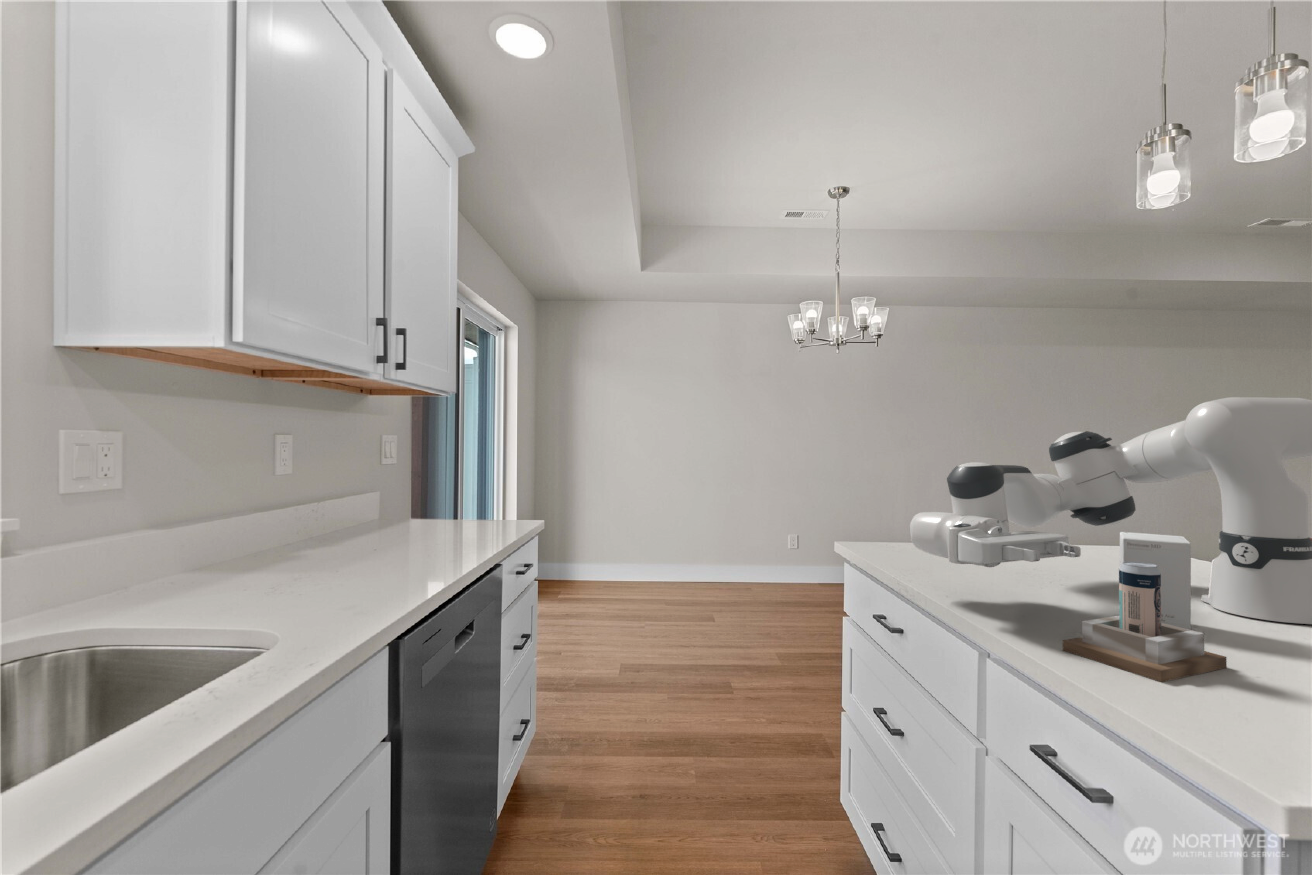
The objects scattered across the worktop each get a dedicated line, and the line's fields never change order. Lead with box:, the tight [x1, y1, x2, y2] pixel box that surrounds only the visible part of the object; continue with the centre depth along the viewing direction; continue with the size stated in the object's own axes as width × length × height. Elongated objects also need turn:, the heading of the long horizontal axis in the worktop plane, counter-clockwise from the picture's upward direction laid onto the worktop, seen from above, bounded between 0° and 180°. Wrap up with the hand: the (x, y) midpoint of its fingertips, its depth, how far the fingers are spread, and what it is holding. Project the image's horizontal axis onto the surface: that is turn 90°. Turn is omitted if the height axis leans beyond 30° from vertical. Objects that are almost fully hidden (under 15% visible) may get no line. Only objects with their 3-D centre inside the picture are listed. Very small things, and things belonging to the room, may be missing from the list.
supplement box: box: [1119, 531, 1192, 630], centre depth 104 cm, size 9×9×15 cm
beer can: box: [1118, 561, 1161, 637], centre depth 88 cm, size 5×5×12 cm
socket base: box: [1062, 615, 1228, 683], centre depth 88 cm, size 14×13×4 cm
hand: (1057, 554), depth 99 cm, fingers open, 8 cm apart
